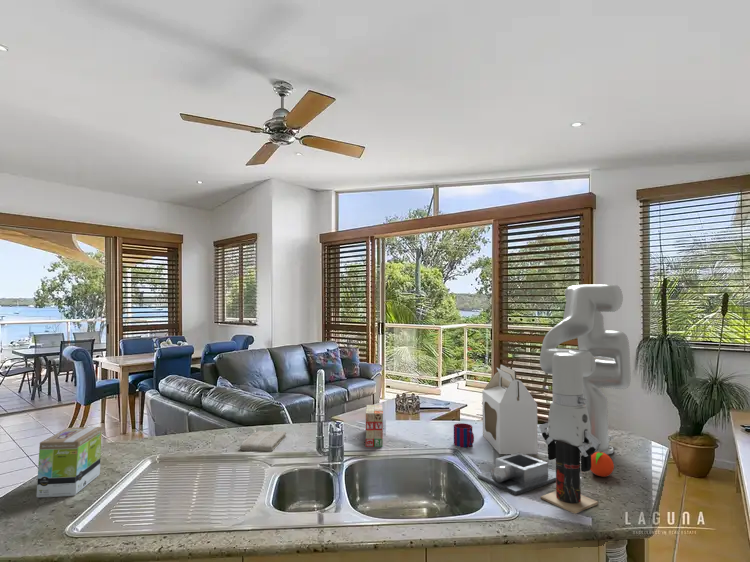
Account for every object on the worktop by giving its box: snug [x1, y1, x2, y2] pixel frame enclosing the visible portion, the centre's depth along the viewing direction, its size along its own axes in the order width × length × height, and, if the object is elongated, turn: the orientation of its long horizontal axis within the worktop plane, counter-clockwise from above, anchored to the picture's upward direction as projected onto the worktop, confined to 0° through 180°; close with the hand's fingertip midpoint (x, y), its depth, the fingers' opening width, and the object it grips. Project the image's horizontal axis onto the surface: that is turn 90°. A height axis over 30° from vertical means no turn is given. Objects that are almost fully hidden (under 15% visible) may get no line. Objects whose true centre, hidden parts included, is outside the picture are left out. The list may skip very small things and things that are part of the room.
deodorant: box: [555, 440, 582, 504], centre depth 119 cm, size 6×6×15 cm
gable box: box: [481, 364, 539, 455], centre depth 165 cm, size 22×13×28 cm, turn 2°
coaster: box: [540, 490, 599, 515], centre depth 118 cm, size 10×10×1 cm
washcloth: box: [240, 430, 287, 452], centre depth 165 cm, size 12×18×3 cm, turn 175°
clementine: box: [589, 452, 615, 478], centre depth 135 cm, size 8×7×7 cm
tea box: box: [36, 426, 103, 498], centre depth 127 cm, size 15×10×15 cm, turn 9°
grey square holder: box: [477, 452, 556, 496], centre depth 133 cm, size 22×14×5 cm, turn 123°
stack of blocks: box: [365, 404, 384, 448], centre depth 172 cm, size 21×6×12 cm, turn 0°
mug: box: [453, 422, 475, 449], centre depth 162 cm, size 7×10×7 cm
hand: (568, 464), depth 118 cm, fingers open, 9 cm apart
